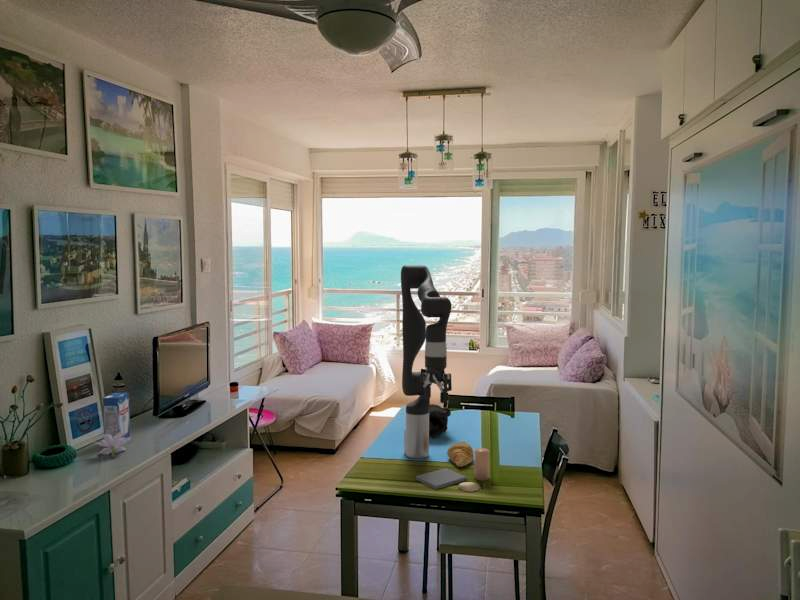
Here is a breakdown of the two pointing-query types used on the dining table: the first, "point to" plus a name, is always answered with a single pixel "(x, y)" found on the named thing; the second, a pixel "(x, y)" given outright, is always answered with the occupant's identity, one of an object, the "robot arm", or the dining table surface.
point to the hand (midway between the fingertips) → (435, 400)
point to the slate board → (441, 478)
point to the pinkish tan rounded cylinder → (481, 464)
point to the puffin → (438, 420)
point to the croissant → (460, 454)
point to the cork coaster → (469, 486)
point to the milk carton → (116, 414)
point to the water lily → (113, 443)
